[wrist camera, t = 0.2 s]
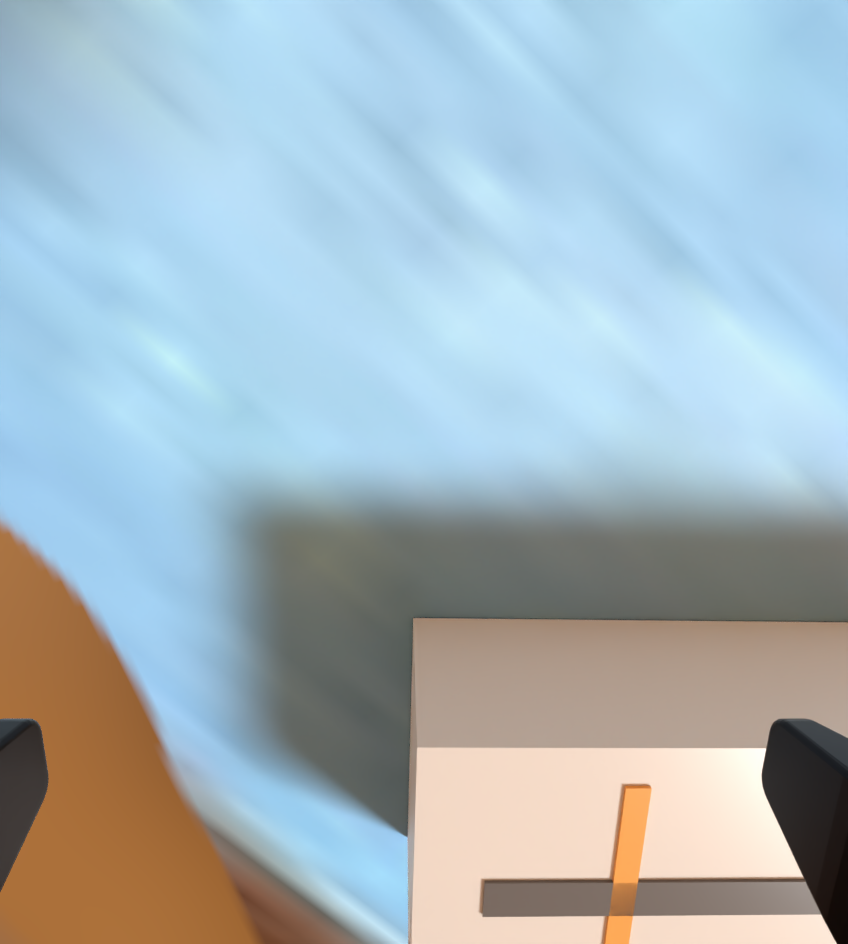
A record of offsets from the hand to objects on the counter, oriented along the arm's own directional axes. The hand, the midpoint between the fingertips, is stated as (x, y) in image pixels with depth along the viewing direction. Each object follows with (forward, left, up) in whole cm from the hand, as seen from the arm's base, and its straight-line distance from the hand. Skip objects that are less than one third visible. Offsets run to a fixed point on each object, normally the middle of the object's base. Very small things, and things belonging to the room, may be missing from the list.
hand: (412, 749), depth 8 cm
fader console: (-11, -11, -14) cm, 21 cm away
